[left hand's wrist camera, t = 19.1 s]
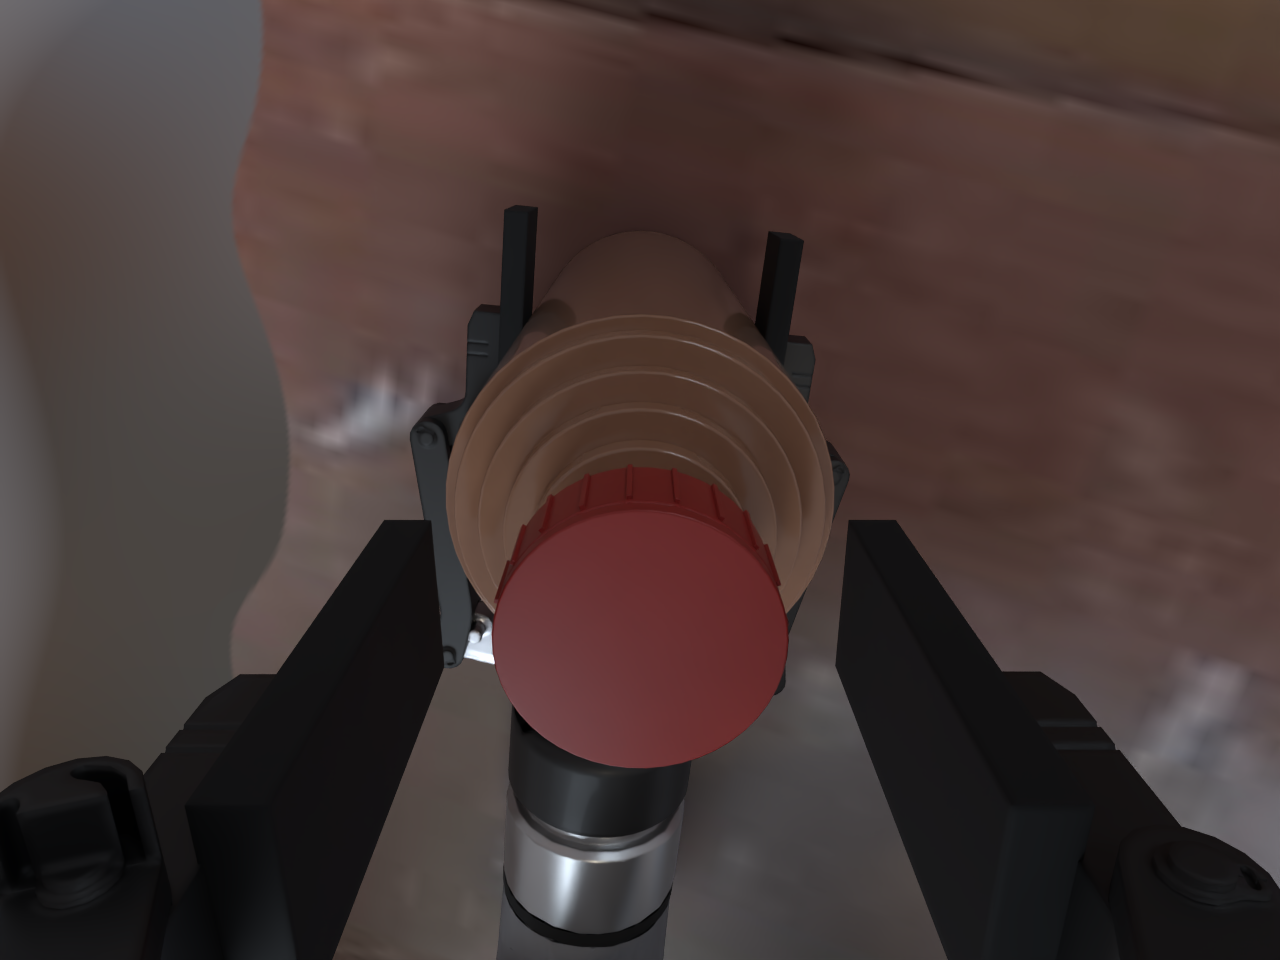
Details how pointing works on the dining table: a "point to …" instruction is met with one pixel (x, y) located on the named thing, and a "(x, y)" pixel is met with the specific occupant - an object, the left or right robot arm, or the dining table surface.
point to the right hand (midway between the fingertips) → (654, 222)
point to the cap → (640, 619)
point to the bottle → (640, 408)
